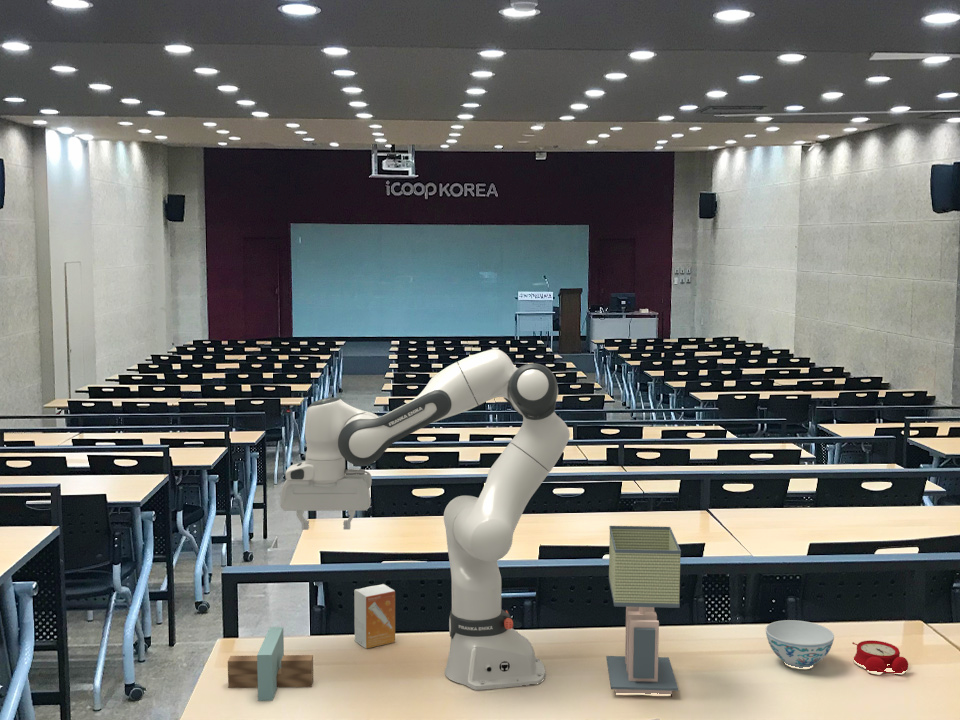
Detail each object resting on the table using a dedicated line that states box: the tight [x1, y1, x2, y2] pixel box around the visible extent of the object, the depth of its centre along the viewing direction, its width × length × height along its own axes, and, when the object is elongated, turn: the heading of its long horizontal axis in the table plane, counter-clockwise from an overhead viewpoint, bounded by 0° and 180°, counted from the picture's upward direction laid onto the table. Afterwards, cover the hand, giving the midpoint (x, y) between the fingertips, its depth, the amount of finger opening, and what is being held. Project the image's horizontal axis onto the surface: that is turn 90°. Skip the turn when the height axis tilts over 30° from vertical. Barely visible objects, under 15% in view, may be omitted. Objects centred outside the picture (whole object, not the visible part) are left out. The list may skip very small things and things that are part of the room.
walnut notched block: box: [227, 654, 314, 689], centre depth 230 cm, size 18×3×6 cm, turn 92°
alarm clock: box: [852, 640, 909, 674], centre depth 240 cm, size 10×6×15 cm
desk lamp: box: [606, 525, 682, 695], centre depth 230 cm, size 18×14×33 cm
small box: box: [353, 583, 396, 650], centre depth 254 cm, size 8×6×13 cm
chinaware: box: [765, 619, 835, 668], centre depth 242 cm, size 15×15×8 cm
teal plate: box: [256, 626, 285, 702], centre depth 230 cm, size 3×16×10 cm, turn 2°
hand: (326, 529), depth 240 cm, fingers open, 8 cm apart
